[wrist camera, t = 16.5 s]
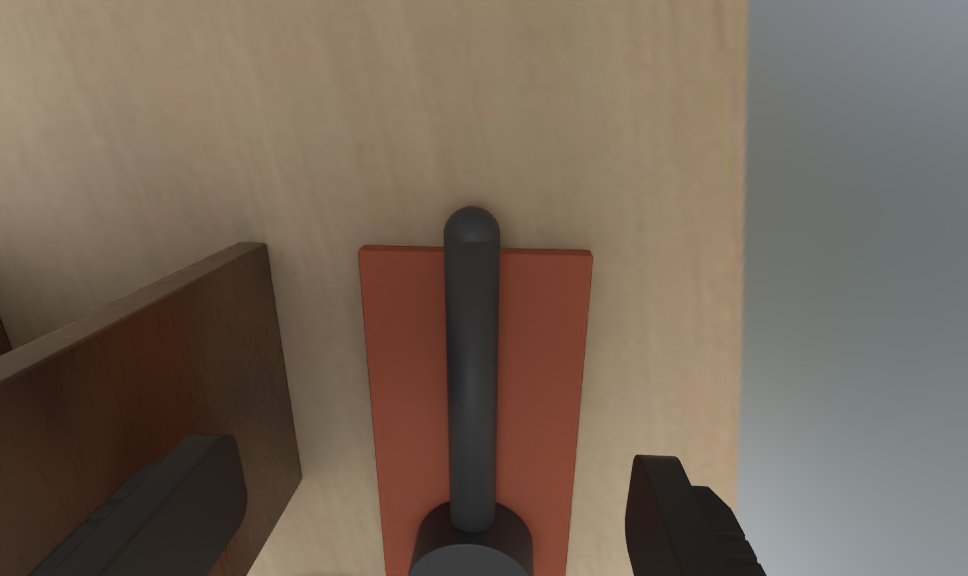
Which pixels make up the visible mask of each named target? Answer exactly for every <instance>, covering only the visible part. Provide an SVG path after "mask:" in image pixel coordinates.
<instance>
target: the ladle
mask: <svg viewBox="0 0 968 576" xmlns="http://www.w3.org/2000/svg"><path fill="white" fill-rule="evenodd" d="M444 273H445V315H446V358H447V401H448V443H449V486H450V501H449V502H446V503H444V504H442V505H440V506H438V507H436V508H435V509H433V510H432V511H431V512H430V513H429V514H428V515H427V516H426V517H425V518H424V519H423V521H422V523H421V524H420V527H419V529H418V533H417V538H416V542H415V546H414V550H413V555H412V559H411V563H410V568H409V572H408V576H534V565H533V541H532V537H531V534H530V531H529V529H528V527H527V526H526V524H525V523H524V522H523V520H522V519H521V518H520V517H519V516H518V515H517V514H516V513H514V512H513V511H512V510H510V509H509V508H507V507H505V506H503V505H501V504H499V503H496V447H497V391H498V335H499V279H500V229H499V226H498V223H497V221H496V219H495V218H494V217H493V215H492V214H490V213H489V212H488V211H486V210H484V209H482V208H479V207H474V206H469V207H465V208H461V209H459V210H457V211H456V212H455V213H453V214H452V215H451V216H450V218H449V219H448V221H447V223H446V225H445V228H444Z"/></svg>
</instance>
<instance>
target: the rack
mask: <svg viewBox="0 0 968 576" xmlns="http://www.w3.org/2000/svg"><path fill="white" fill-rule="evenodd" d="M191 433H208V434H229V435H232V436H233V437H234V438H235V440H236V442H237V446H238V451H239V456H240V460H241V465H242V470H243V474H244V479H245V484H246V489H247V494H248V502H247V508H246V513H245V516H244V519H243V521H242V523H241V525H240V527H239V529H238V530H237V532H236V533H235V535H234V536H233V538H232V539H231V541H230V543H229V544H228V546H227V547H226V549H225V550H224V552H223V553H222V555H221V556H220V558H219V559H218V561H217V562H216V564H215V566H214V567H213V569H212V570H211V572H210V573H209V575H208V576H246V575H247V574H248V572H249V570H250V568H251V567H252V565H253V563H254V562H255V560H256V558H257V556H258V555H259V553H260V551H261V550H262V548H263V546H264V544H265V543H266V541H267V539H268V537H269V536H270V534H271V532H272V531H273V529H274V527H275V525H276V524H277V522H278V520H279V519H280V517H281V515H282V513H283V512H284V510H285V508H286V506H287V505H288V503H289V501H290V500H291V498H292V496H293V494H294V493H295V491H296V489H297V487H298V486H299V484H300V482H301V480H302V478H301V472H300V465H299V459H298V452H297V446H296V439H295V433H294V426H293V420H292V413H291V407H290V400H289V394H288V387H287V381H286V374H285V368H284V361H283V355H282V348H281V342H280V335H279V329H278V322H277V316H276V309H275V303H274V296H273V290H272V283H271V277H270V270H269V264H268V257H267V251H266V245H265V244H264V243H237V244H235V245H233V246H230V247H228V248H226V249H224V250H222V251H220V252H218V253H216V254H214V255H211V256H209V257H207V258H205V259H203V260H201V261H199V262H197V263H195V264H193V265H190V266H188V267H186V268H184V269H182V270H180V271H178V272H176V273H174V274H172V275H169V276H167V277H165V278H163V279H161V280H159V281H157V282H155V283H153V284H150V285H148V286H146V287H144V288H142V289H140V290H138V291H136V292H134V293H132V294H129V295H127V296H125V297H123V298H121V299H119V300H117V301H115V302H113V303H110V304H108V305H106V306H104V307H102V308H100V309H98V310H96V311H94V312H92V313H89V314H87V315H85V316H83V317H81V318H79V319H77V320H75V321H73V322H70V323H68V324H66V325H64V326H62V327H60V328H58V329H56V330H54V331H52V332H49V333H47V334H45V335H43V336H41V337H39V338H37V339H35V340H33V341H30V342H28V343H26V344H24V345H22V346H20V347H18V348H16V349H14V350H12V351H11V348H10V346H9V343H8V340H7V338H6V335H5V332H4V329H3V327H2V324H1V321H0V576H27V575H28V574H29V573H30V572H31V571H32V570H33V569H34V568H35V567H36V566H37V565H38V564H39V563H40V562H42V561H43V560H44V559H45V558H46V557H47V556H48V555H49V554H50V553H51V552H52V551H53V550H54V549H55V548H56V547H57V546H58V545H59V544H60V543H61V542H62V541H63V540H64V539H65V538H66V537H67V536H68V535H69V534H71V533H72V532H73V531H74V530H75V529H76V528H77V527H78V526H79V525H80V524H81V523H85V522H86V521H87V517H88V516H89V515H90V514H91V513H92V512H93V511H94V510H95V509H96V508H97V507H98V506H100V505H101V504H102V503H106V501H107V498H108V497H109V496H110V495H111V494H112V493H113V492H114V491H115V490H116V489H117V488H118V487H119V486H120V485H121V484H122V483H123V482H124V481H125V480H126V479H127V478H129V477H130V476H131V475H133V474H134V473H136V472H138V471H139V470H141V469H142V468H144V467H146V466H147V465H149V464H150V463H152V462H154V461H155V460H157V459H159V458H165V457H166V456H167V455H168V454H169V453H170V452H171V451H172V450H173V449H174V448H175V447H176V446H177V445H178V444H179V442H180V441H181V440H182V439H183V438H185V437H186V436H187V435H189V434H191Z"/></svg>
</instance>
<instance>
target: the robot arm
mask: <svg viewBox="0 0 968 576" xmlns="http://www.w3.org/2000/svg"><path fill="white" fill-rule="evenodd" d="M247 502H248V494H247V489H246V484H245V479H244V474H243V470H242V465H241V460H240V456H239V451H238V446H237V442H236V440H235V438H234V437H233V436H232V435H229V434H208V433H191V434H189V435H187V436H186V437H185V438H183V439H182V440H181V441H180V442H179V444H178V445H177V446H176V447H175V448H174V449H173V450H172V451H171V452H170V453H169V454H168V455H167V456H166V457H165V458H159V459H157V460H155V461H154V462H152V463H150V464H149V465H147V466H146V467H144V468H142V469H141V470H139V471H138V472H136V473H134V474H133V475H131V476H130V477H129V478H127V479H126V480H125V481H124V482H123V483H122V484H121V485H120V486H119V487H118V488H117V489H116V490H115V491H114V492H113V493H112V494H111V495H110V496H109V497H108V498H107V501H106V503H102V504H101V505H100V506H98V507H97V508H96V509H95V510H94V511H93V512H92V513H91V514H90V515H89V516H88V517H87V521H86V522H85V523H81V524H80V525H79V526H78V527H77V528H76V529H75V530H74V531H73V532H72V533H71V534H69V535H68V536H67V537H66V538H65V539H64V540H63V541H62V542H61V543H60V544H59V545H58V546H57V547H56V548H55V549H54V550H53V551H52V552H51V553H50V554H49V555H48V556H47V557H46V558H45V559H44V560H43V561H42V562H40V563H39V564H38V565H37V566H36V567H35V568H34V569H33V570H32V571H31V572H30V573H29V574H28V575H27V576H208V575H209V573H210V572H211V570H212V569H213V567H214V566H215V564H216V562H217V561H218V559H219V558H220V556H221V555H222V553H223V552H224V550H225V549H226V547H227V546H228V544H229V543H230V541H231V539H232V538H233V536H234V535H235V533H236V532H237V530H238V529H239V527H240V525H241V523H242V521H243V519H244V516H245V513H246V508H247ZM625 535H626V543H627V549H628V553H629V557H630V561H631V565H632V569H633V573H634V576H766V574H765V572H764V570H763V568H762V566H761V564H758V562H757V557H756V555H755V553H754V551H753V549H752V547H751V546H750V544H749V542H748V541H746V540H745V534H744V532H743V530H742V529H741V527H740V525H739V523H738V521H737V519H736V517H735V515H734V514H733V512H732V510H731V508H730V507H728V506H727V505H726V504H725V503H724V502H723V501H722V500H721V499H720V498H719V497H718V496H717V495H716V494H715V493H714V492H713V491H712V490H711V489H710V488H709V487H706V486H691V484H690V482H689V480H688V477H687V475H686V473H685V471H684V469H683V467H682V464H681V462H680V460H679V459H678V458H677V457H675V456H656V455H636V456H635V457H634V460H633V465H632V472H631V479H630V486H629V493H628V500H627V507H626V514H625Z"/></svg>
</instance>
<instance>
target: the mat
mask: <svg viewBox="0 0 968 576" xmlns="http://www.w3.org/2000/svg"><path fill="white" fill-rule="evenodd" d="M358 257H359V269H360V281H361V292H362V304H363V315H364V327H365V338H366V350H367V362H368V373H369V385H370V396H371V408H372V420H373V431H374V443H375V454H376V466H377V477H378V489H379V501H380V512H381V524H382V535H383V547H384V558H385V570H386V576H408V572H409V568H410V563H411V559H412V555H413V550H414V546H415V542H416V538H417V533H418V529H419V527H420V524H421V523H422V521H423V519H424V518H425V517H426V516H427V515H428V514H429V513H430V512H431V511H432V510H433V509H435V508H436V507H438V506H440V505H442V504H444V503H446V502H449V501H450V486H449V443H448V401H447V358H446V315H445V273H444V247H412V246H369V245H364V246H363V247H362V248H361V249H359V250H358ZM592 264H593V256H592V254H591V252H590V251H588V250H544V249H500V279H499V335H498V391H497V447H496V503H499V504H501V505H503V506H505V507H507V508H509V509H510V510H512V511H513V512H514V513H516V514H517V515H518V516H519V517H520V518H521V519H522V520H523V522H524V523H525V524H526V526H527V527H528V529H529V531H530V534H531V537H532V541H533V565H534V576H565V573H566V562H567V550H568V539H569V527H570V516H571V504H572V493H573V482H574V470H575V459H576V447H577V436H578V424H579V413H580V401H581V390H582V378H583V367H584V356H585V344H586V333H587V321H588V310H589V298H590V287H591V275H592Z"/></svg>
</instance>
